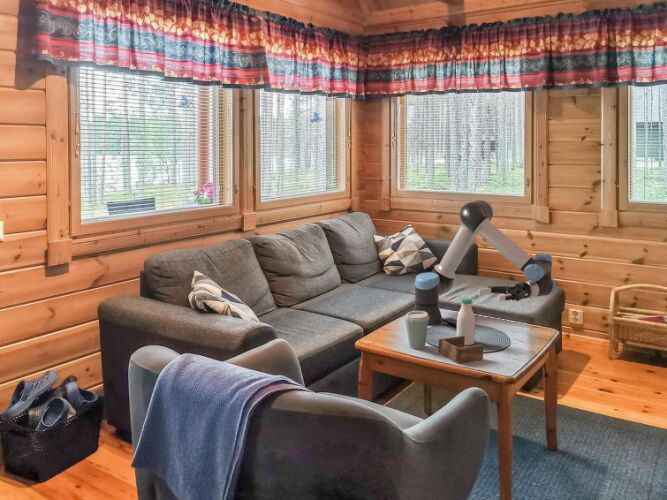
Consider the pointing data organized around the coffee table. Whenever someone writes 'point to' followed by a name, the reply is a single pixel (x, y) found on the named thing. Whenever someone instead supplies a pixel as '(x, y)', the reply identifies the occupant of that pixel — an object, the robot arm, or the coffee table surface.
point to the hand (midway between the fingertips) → (488, 295)
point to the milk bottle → (466, 321)
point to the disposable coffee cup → (417, 328)
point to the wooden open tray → (460, 350)
